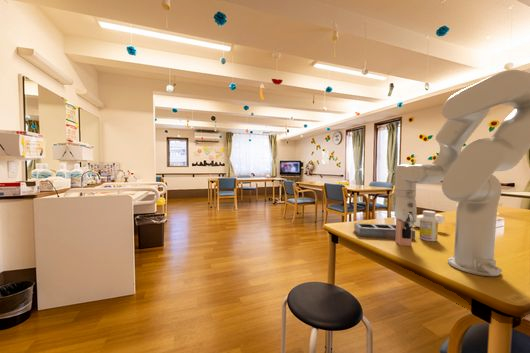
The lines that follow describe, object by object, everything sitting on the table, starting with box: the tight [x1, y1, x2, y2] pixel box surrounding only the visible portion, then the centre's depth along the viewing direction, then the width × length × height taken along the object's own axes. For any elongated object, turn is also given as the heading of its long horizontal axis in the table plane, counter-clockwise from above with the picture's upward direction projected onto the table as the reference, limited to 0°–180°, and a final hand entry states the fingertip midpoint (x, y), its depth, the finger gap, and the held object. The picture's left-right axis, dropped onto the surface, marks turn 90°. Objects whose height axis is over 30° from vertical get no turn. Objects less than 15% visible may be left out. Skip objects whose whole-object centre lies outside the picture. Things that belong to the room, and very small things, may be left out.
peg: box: [394, 218, 413, 247], centre depth 96 cm, size 4×4×10 cm
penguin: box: [412, 213, 446, 228], centre depth 119 cm, size 9×8×15 cm
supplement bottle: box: [419, 210, 439, 242], centre depth 102 cm, size 7×7×13 cm
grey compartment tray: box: [353, 222, 416, 240], centre depth 108 cm, size 10×24×4 cm, turn 82°
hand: (403, 235), depth 96 cm, fingers closed on peg, 4 cm apart
